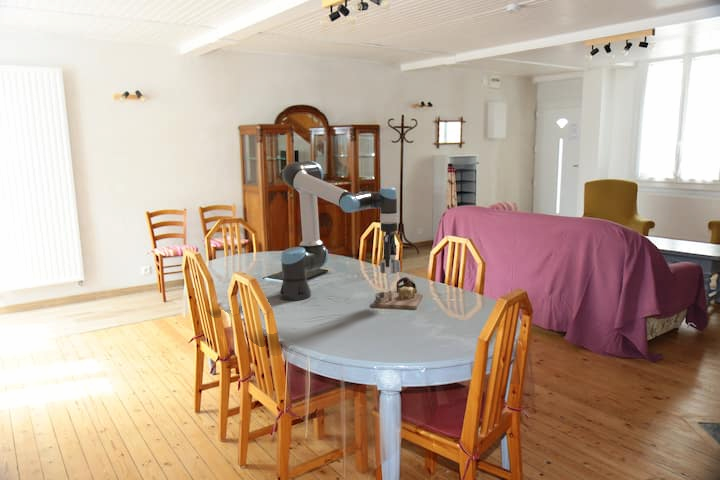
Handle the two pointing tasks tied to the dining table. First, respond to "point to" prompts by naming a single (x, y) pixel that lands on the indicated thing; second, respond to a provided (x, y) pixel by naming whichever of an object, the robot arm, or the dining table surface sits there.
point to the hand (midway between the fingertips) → (390, 271)
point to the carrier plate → (398, 299)
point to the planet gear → (394, 266)
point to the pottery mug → (406, 283)
